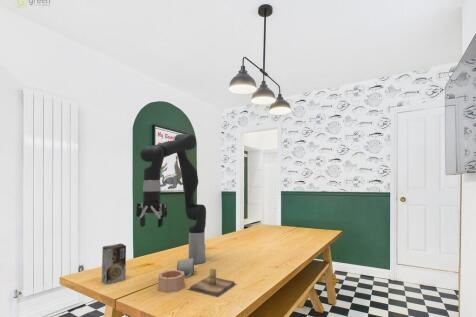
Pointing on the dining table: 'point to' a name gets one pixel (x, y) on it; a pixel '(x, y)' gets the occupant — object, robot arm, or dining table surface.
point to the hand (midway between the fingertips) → (151, 226)
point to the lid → (212, 284)
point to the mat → (214, 295)
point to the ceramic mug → (186, 267)
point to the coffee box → (113, 263)
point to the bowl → (171, 281)
